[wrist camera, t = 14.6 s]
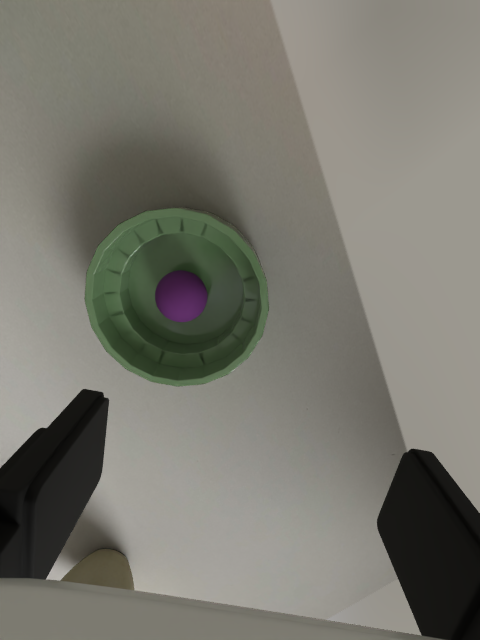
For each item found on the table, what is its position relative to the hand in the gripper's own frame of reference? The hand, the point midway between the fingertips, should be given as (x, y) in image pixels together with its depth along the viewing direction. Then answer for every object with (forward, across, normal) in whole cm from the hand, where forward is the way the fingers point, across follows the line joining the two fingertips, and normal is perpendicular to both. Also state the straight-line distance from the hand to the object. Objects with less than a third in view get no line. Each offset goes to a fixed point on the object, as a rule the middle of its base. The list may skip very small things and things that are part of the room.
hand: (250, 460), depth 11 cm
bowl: (+23, +6, +1) cm, 23 cm away
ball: (+22, +6, +1) cm, 23 cm away
